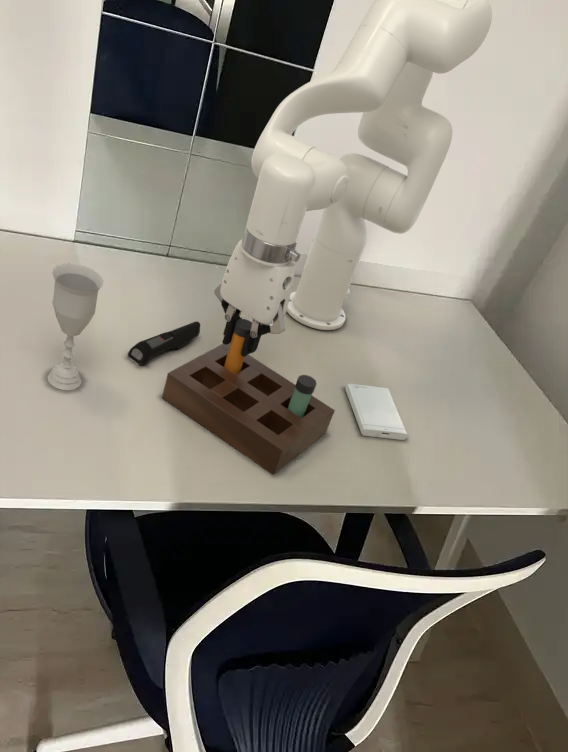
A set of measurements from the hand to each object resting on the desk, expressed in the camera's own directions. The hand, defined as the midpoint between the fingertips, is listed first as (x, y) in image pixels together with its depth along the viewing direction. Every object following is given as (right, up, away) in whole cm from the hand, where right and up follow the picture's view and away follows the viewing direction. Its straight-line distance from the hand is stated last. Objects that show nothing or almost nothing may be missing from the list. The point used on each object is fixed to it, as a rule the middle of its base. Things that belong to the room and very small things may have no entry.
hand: (238, 346), depth 127 cm
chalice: (-27, -6, -5) cm, 28 cm away
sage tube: (+8, -13, +1) cm, 16 cm away
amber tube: (-1, -4, +4) cm, 6 cm away
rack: (+1, -11, +1) cm, 11 cm away
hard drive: (+23, -10, +11) cm, 28 cm away
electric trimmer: (-13, +1, +9) cm, 16 cm away
